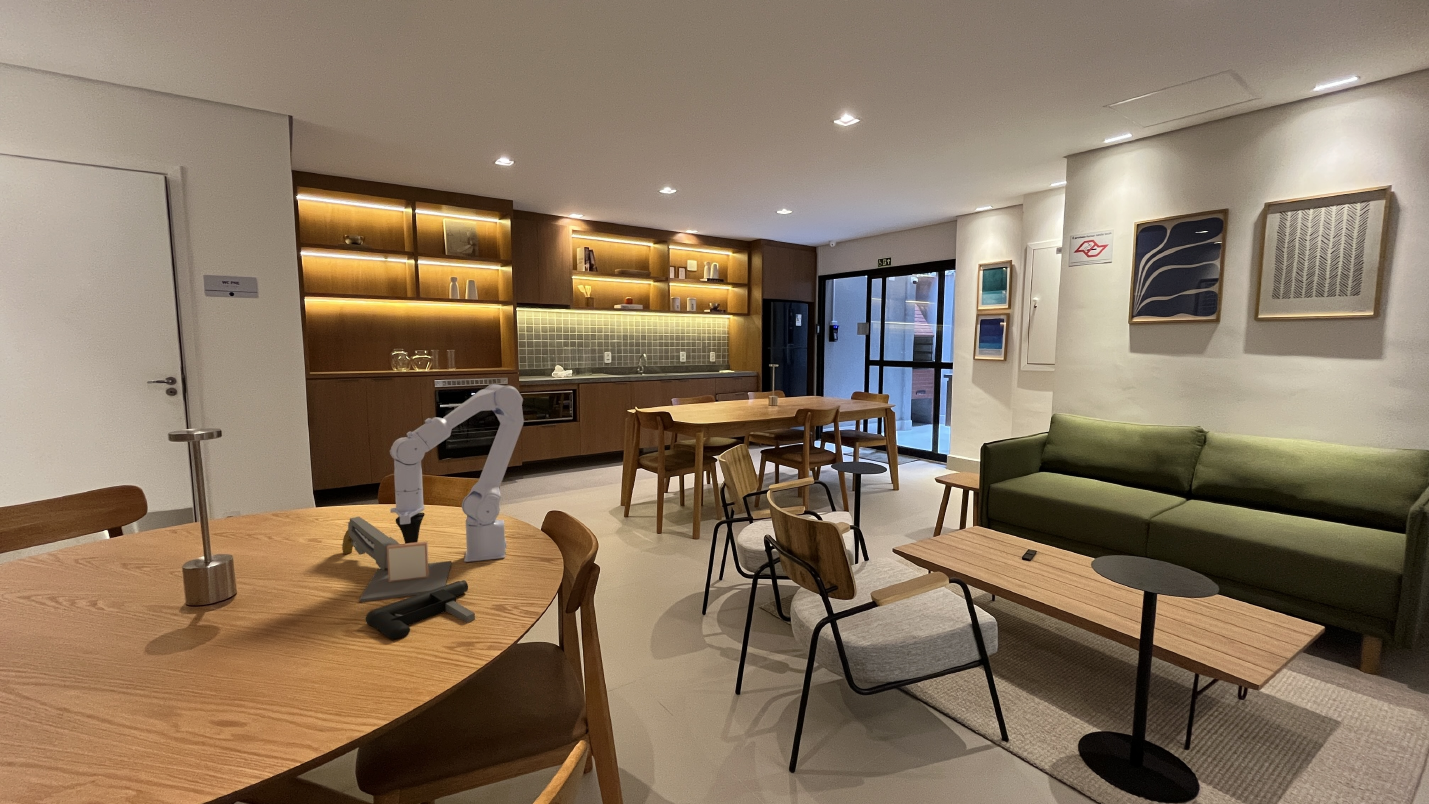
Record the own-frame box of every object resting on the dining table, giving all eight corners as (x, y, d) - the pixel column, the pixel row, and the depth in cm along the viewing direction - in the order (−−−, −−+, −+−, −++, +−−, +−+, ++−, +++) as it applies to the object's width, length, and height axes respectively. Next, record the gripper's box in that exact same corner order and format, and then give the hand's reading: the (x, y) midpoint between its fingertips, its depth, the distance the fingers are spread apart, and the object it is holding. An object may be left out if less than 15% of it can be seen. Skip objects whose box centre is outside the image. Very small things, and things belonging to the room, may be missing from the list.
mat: (451, 563, 144) (451, 560, 144) (443, 591, 127) (443, 589, 127) (377, 571, 139) (377, 568, 139) (359, 602, 122) (359, 599, 122)
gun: (382, 604, 139) (392, 550, 135) (335, 550, 151) (343, 499, 147) (395, 600, 141) (405, 547, 137) (348, 546, 154) (356, 497, 150)
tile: (429, 575, 135) (427, 541, 134) (427, 577, 133) (426, 543, 132) (389, 579, 132) (388, 545, 131) (388, 582, 130) (386, 547, 130)
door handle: (501, 598, 118) (458, 575, 128) (400, 638, 102) (359, 608, 112) (501, 614, 119) (458, 590, 128) (400, 655, 103) (360, 625, 112)
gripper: (395, 483, 142) (398, 538, 143) (383, 497, 128) (386, 558, 129) (427, 481, 144) (430, 535, 145) (418, 495, 130) (421, 554, 132)
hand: (411, 545), depth 138 cm, fingers closed
